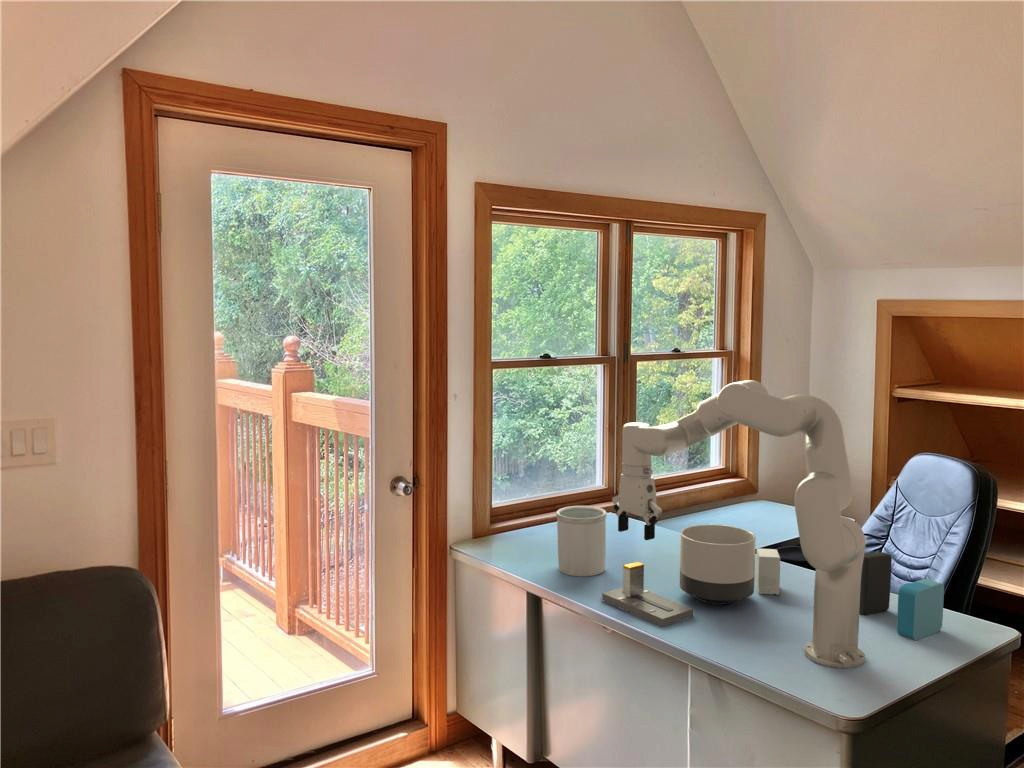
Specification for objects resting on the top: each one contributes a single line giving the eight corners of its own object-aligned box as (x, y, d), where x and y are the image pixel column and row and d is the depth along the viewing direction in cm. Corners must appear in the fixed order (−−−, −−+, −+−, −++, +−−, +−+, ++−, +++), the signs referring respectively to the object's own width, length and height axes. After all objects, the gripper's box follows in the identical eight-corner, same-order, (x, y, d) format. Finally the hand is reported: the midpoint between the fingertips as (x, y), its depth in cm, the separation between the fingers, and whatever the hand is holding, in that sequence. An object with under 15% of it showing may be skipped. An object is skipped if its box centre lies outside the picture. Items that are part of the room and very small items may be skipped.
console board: (693, 616, 210) (693, 608, 210) (662, 626, 204) (662, 618, 204) (632, 591, 228) (632, 584, 228) (602, 600, 222) (602, 592, 221)
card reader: (879, 606, 217) (881, 550, 215) (891, 611, 213) (893, 554, 212) (851, 611, 214) (853, 554, 212) (863, 616, 210) (865, 558, 208)
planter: (753, 589, 229) (755, 527, 228) (754, 615, 211) (756, 547, 209) (682, 583, 235) (683, 522, 233) (676, 608, 216) (677, 541, 214)
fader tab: (643, 592, 220) (643, 564, 219) (629, 596, 217) (630, 567, 216) (636, 590, 222) (637, 561, 221) (623, 594, 219) (623, 565, 218)
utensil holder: (551, 575, 242) (551, 516, 240) (560, 559, 256) (561, 504, 254) (602, 579, 238) (602, 519, 236) (608, 563, 253) (609, 506, 251)
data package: (924, 624, 205) (926, 577, 204) (942, 630, 201) (944, 582, 200) (895, 635, 198) (898, 586, 197) (913, 641, 195) (916, 592, 193)
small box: (779, 595, 225) (780, 557, 224) (758, 594, 226) (759, 556, 225) (776, 585, 233) (777, 548, 232) (755, 584, 234) (756, 547, 233)
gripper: (671, 474, 211) (670, 540, 213) (624, 463, 225) (623, 525, 227) (650, 478, 207) (649, 545, 209) (603, 467, 221) (603, 530, 223)
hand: (636, 534), depth 218 cm, fingers open, 9 cm apart
